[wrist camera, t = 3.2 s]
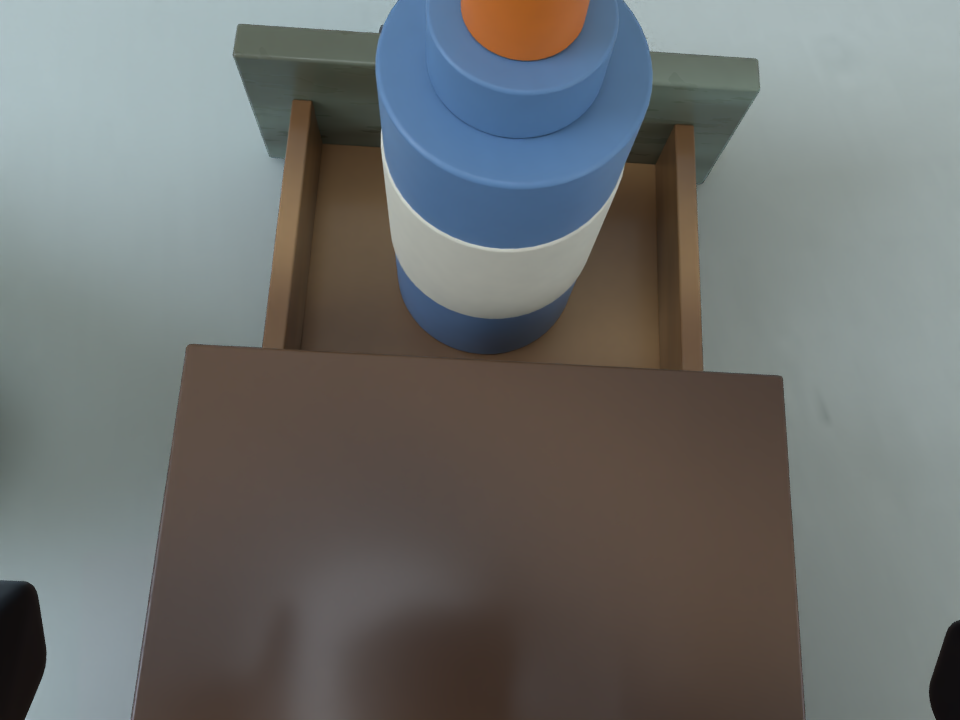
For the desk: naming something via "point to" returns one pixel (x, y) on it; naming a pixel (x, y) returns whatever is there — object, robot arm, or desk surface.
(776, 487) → the drawer unit
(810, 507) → the desk surface
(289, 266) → the drawer
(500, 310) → the glue bottle
